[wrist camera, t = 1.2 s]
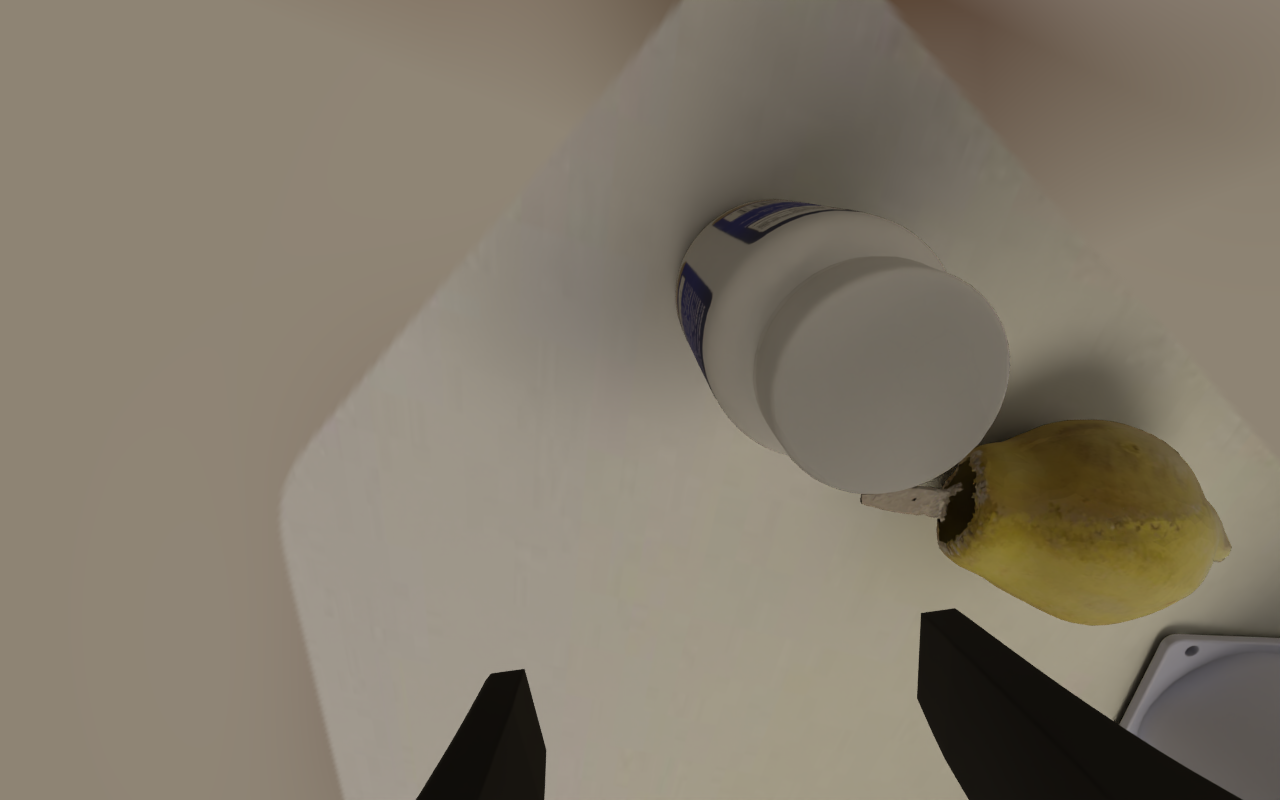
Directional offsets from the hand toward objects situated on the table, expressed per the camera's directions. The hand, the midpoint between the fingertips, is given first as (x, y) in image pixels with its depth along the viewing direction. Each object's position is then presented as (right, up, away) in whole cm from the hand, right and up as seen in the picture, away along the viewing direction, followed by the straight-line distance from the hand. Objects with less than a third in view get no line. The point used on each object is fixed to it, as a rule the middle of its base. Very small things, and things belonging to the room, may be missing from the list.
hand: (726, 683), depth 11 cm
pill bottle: (+2, +9, +7) cm, 11 cm away
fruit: (+10, +2, +10) cm, 15 cm away
